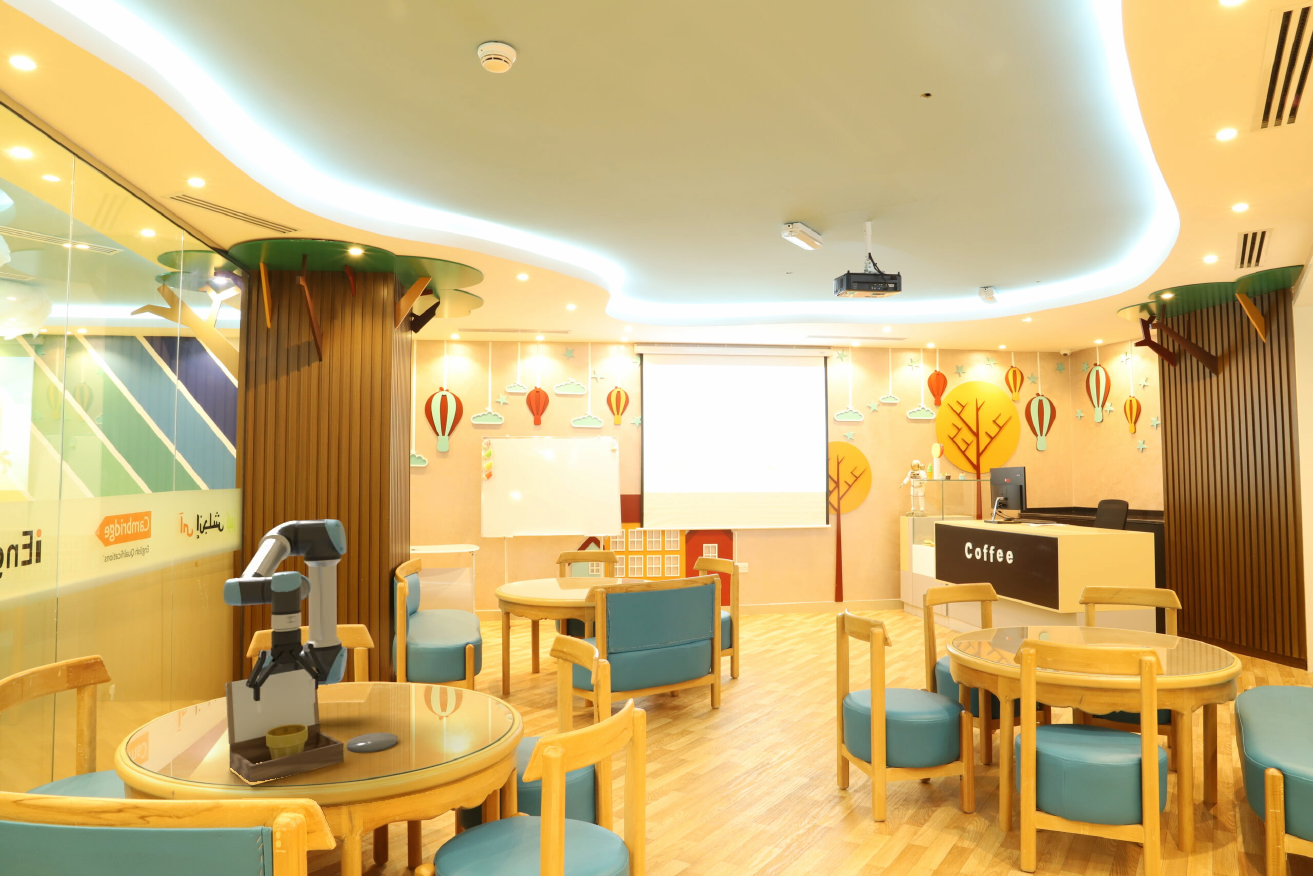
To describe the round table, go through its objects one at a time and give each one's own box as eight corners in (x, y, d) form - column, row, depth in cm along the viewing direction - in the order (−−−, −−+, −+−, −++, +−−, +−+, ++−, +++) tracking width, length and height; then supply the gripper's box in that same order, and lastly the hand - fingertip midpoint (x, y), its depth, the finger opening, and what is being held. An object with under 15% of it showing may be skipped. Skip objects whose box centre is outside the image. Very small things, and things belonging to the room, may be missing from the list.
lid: (225, 741, 222) (225, 682, 223) (314, 721, 239) (313, 666, 239) (230, 744, 219) (230, 684, 220) (319, 724, 236) (319, 668, 237)
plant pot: (291, 773, 215) (291, 736, 216) (257, 772, 217) (257, 735, 218) (315, 760, 225) (315, 724, 226) (282, 758, 228) (282, 723, 228)
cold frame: (229, 770, 219) (229, 744, 219) (318, 748, 236) (318, 723, 236) (250, 786, 207) (250, 758, 207) (343, 761, 224) (343, 735, 224)
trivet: (338, 745, 238) (338, 741, 238) (384, 733, 248) (384, 729, 248) (359, 756, 228) (359, 751, 228) (406, 743, 238) (406, 739, 238)
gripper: (242, 637, 212) (242, 720, 210) (337, 624, 229) (337, 700, 228) (233, 634, 217) (232, 714, 216) (326, 621, 235) (326, 696, 233)
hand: (286, 707), depth 222 cm, fingers open, 13 cm apart
